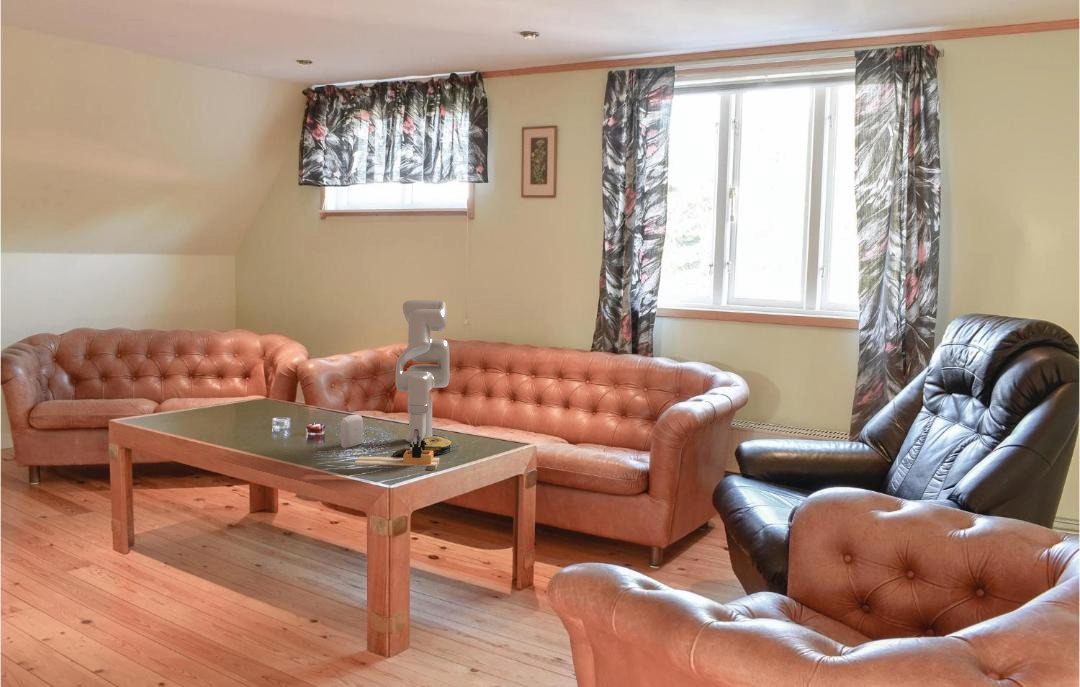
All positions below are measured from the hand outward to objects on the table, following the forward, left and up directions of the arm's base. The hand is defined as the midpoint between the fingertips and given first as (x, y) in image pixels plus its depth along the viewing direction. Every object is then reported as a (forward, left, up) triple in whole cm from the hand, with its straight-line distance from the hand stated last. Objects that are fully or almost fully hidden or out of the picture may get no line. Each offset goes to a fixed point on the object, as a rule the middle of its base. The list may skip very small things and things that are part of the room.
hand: (418, 454), depth 325 cm
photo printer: (-30, -31, -4) cm, 43 cm away
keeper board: (0, -8, -4) cm, 9 cm away
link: (0, 0, -3) cm, 3 cm away
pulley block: (-18, -1, -4) cm, 18 cm away
